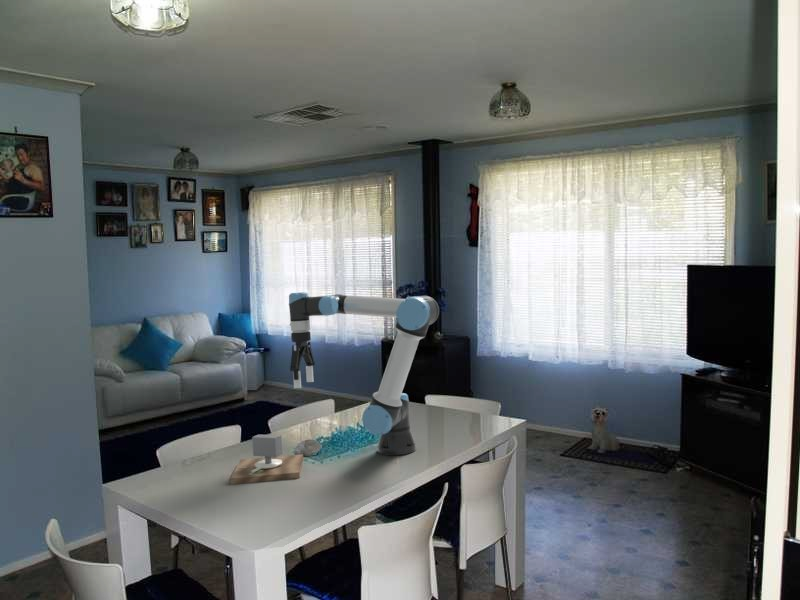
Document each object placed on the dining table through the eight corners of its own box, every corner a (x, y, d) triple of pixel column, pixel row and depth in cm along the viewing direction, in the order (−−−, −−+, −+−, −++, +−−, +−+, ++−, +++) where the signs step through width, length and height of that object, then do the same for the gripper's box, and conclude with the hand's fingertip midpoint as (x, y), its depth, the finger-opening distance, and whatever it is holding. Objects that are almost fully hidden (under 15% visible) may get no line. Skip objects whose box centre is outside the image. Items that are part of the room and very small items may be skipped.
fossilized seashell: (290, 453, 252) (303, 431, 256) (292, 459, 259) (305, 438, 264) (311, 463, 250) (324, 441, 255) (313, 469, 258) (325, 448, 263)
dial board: (303, 459, 248) (303, 453, 248) (299, 477, 224) (299, 471, 224) (241, 464, 246) (240, 459, 246) (230, 484, 222) (230, 477, 222)
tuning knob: (265, 460, 242) (263, 432, 241) (287, 461, 238) (285, 433, 238) (241, 472, 228) (238, 442, 228) (264, 473, 224) (262, 443, 224)
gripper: (303, 329, 263) (306, 379, 264) (278, 334, 239) (282, 390, 239) (320, 328, 261) (323, 379, 262) (297, 334, 237) (301, 390, 238)
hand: (304, 385), depth 251 cm, fingers open, 13 cm apart
